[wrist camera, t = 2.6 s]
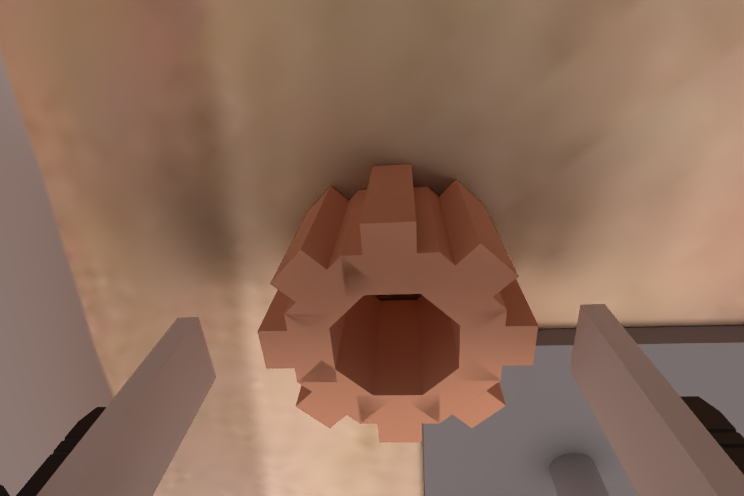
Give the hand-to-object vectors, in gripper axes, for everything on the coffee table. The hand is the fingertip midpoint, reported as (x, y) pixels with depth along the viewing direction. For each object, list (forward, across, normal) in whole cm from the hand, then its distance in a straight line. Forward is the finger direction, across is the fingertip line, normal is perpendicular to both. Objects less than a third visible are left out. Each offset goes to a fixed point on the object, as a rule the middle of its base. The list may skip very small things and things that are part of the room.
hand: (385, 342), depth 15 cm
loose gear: (+5, 0, 0) cm, 5 cm away
